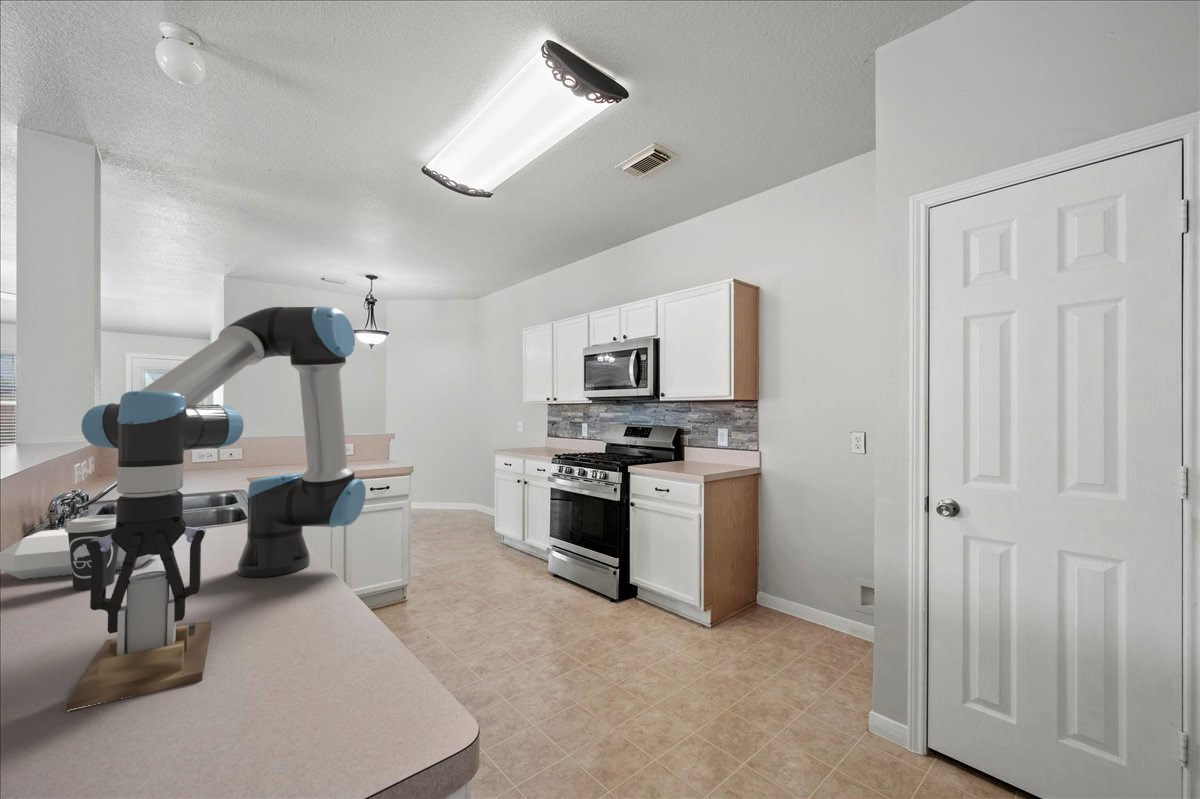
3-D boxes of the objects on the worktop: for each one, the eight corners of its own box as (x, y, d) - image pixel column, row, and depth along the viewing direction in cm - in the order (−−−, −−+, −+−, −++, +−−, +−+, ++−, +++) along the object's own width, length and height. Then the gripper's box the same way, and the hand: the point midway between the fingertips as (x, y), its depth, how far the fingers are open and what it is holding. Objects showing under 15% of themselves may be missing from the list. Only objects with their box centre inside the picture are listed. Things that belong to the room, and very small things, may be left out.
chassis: (211, 627, 93) (211, 601, 93) (202, 680, 74) (202, 648, 75) (105, 647, 85) (106, 618, 85) (66, 712, 66) (67, 676, 67)
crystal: (152, 530, 125) (-10, 543, 113) (151, 569, 125) (-11, 586, 113) (170, 519, 138) (27, 529, 126) (169, 554, 138) (26, 568, 126)
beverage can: (142, 665, 73) (144, 582, 74) (116, 661, 74) (118, 579, 75) (176, 649, 78) (177, 571, 78) (151, 646, 79) (153, 569, 79)
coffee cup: (133, 580, 117) (134, 515, 117) (79, 595, 108) (81, 524, 108) (107, 576, 120) (108, 512, 120) (52, 589, 111) (54, 520, 111)
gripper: (225, 485, 85) (222, 624, 84) (74, 494, 75) (70, 653, 74) (223, 491, 79) (220, 642, 78) (58, 502, 69) (54, 676, 68)
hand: (147, 647), depth 76 cm, fingers closed on beverage can, 5 cm apart
